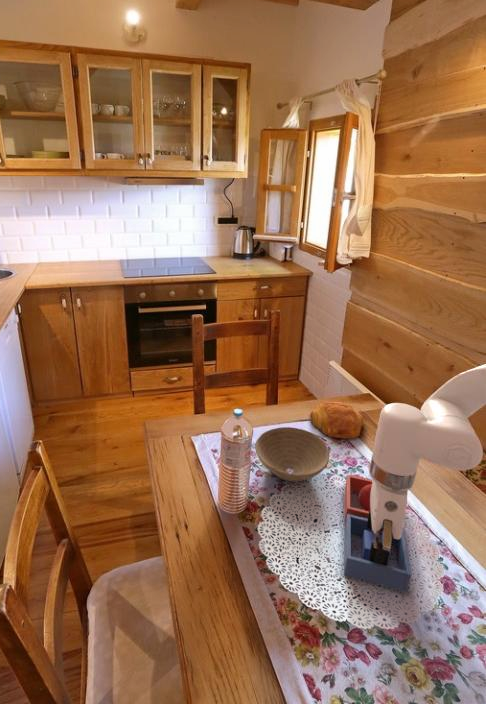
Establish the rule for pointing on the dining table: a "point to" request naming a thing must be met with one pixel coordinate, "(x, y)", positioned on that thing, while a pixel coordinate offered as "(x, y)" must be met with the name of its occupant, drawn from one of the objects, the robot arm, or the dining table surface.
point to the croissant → (337, 419)
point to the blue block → (368, 544)
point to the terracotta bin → (354, 486)
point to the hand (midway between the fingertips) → (376, 544)
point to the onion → (365, 497)
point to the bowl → (292, 453)
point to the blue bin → (371, 569)
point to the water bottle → (235, 463)
